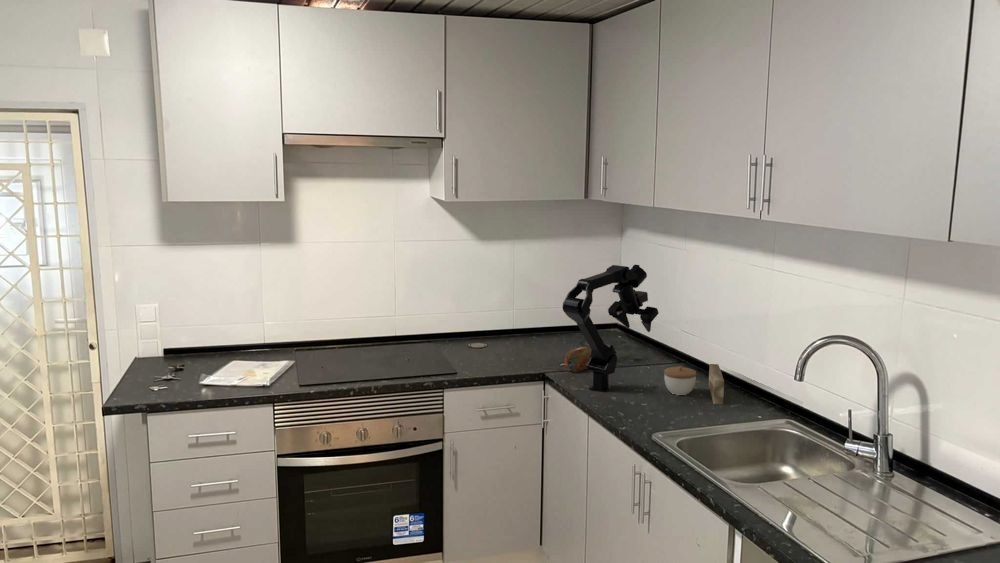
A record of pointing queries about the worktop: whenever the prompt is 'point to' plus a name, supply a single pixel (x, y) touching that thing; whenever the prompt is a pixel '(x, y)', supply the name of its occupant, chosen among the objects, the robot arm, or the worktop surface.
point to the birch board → (716, 384)
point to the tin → (577, 359)
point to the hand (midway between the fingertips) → (638, 329)
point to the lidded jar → (680, 380)
